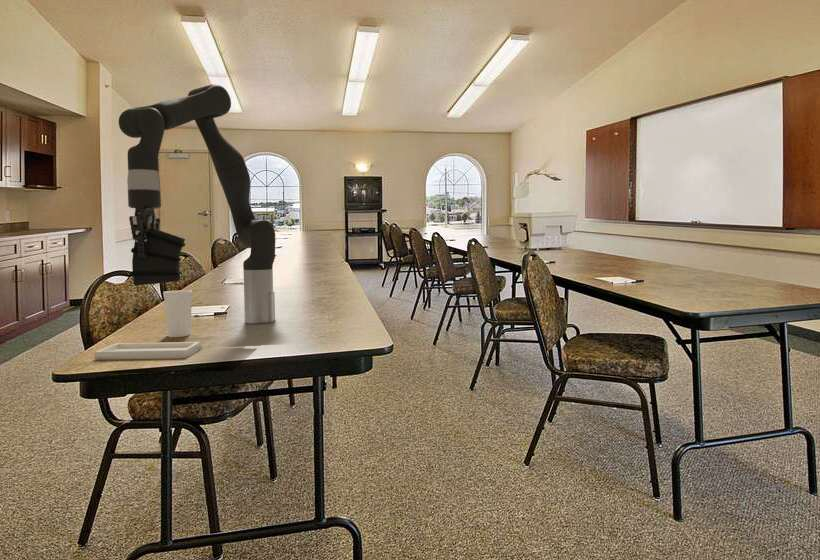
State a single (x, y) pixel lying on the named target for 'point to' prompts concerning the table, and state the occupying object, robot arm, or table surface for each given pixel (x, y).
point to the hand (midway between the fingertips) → (146, 256)
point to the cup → (178, 312)
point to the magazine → (158, 259)
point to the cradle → (148, 350)
